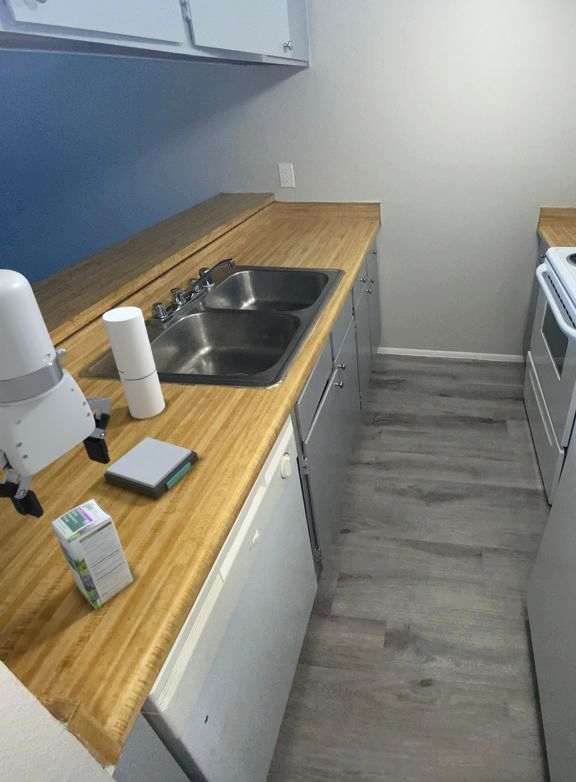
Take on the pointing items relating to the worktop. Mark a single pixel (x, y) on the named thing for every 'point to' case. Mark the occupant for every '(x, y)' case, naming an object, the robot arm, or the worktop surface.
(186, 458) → the scale
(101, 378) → the worktop surface
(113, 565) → the syrup box
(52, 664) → the worktop surface
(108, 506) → the worktop surface
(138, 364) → the cylindrical container
